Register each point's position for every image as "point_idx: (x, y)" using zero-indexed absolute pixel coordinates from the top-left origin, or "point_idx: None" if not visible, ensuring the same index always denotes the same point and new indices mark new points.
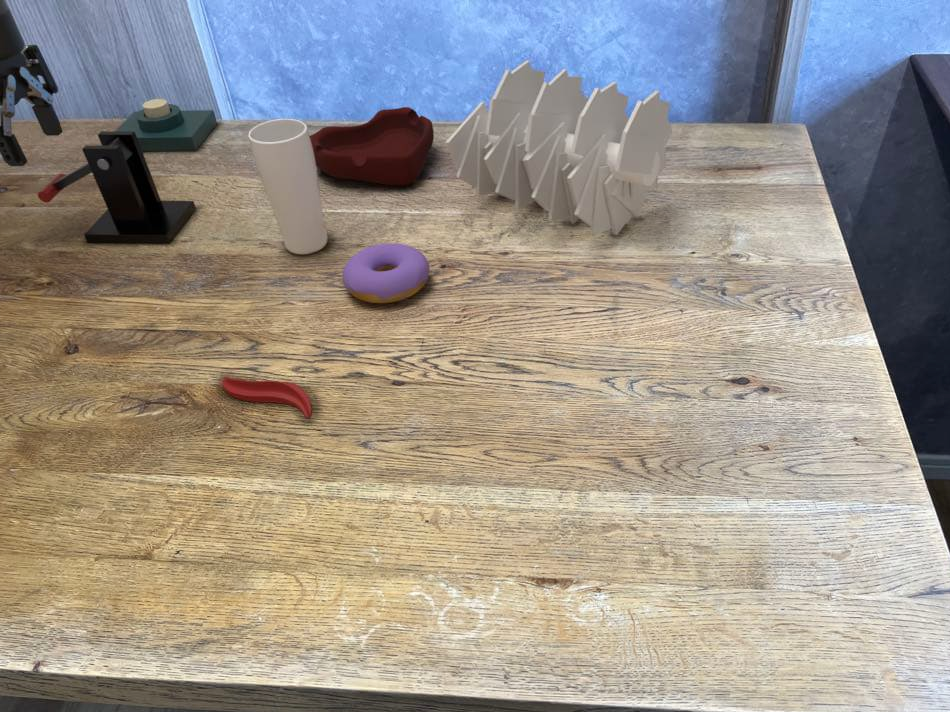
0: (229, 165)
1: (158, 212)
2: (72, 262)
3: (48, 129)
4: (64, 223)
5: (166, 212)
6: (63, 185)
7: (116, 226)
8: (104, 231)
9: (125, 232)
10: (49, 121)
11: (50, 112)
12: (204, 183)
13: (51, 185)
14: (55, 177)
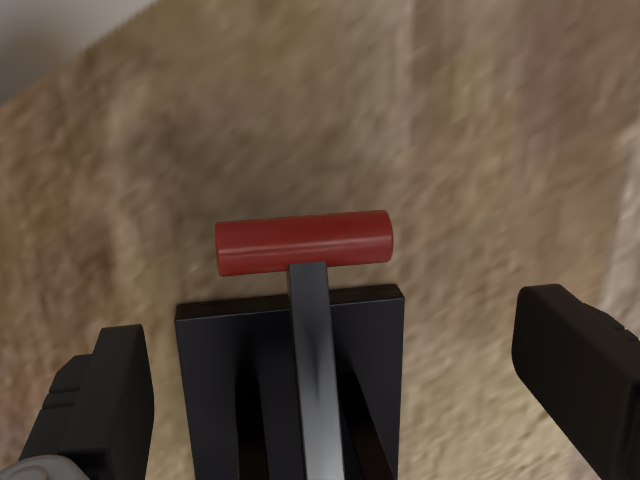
0: None
1: None
2: (56, 322)
3: (534, 331)
4: (293, 155)
5: None
6: (289, 311)
7: (234, 390)
8: (203, 369)
9: (204, 430)
10: (555, 389)
11: (585, 457)
12: (534, 437)
13: (283, 264)
14: (354, 242)
